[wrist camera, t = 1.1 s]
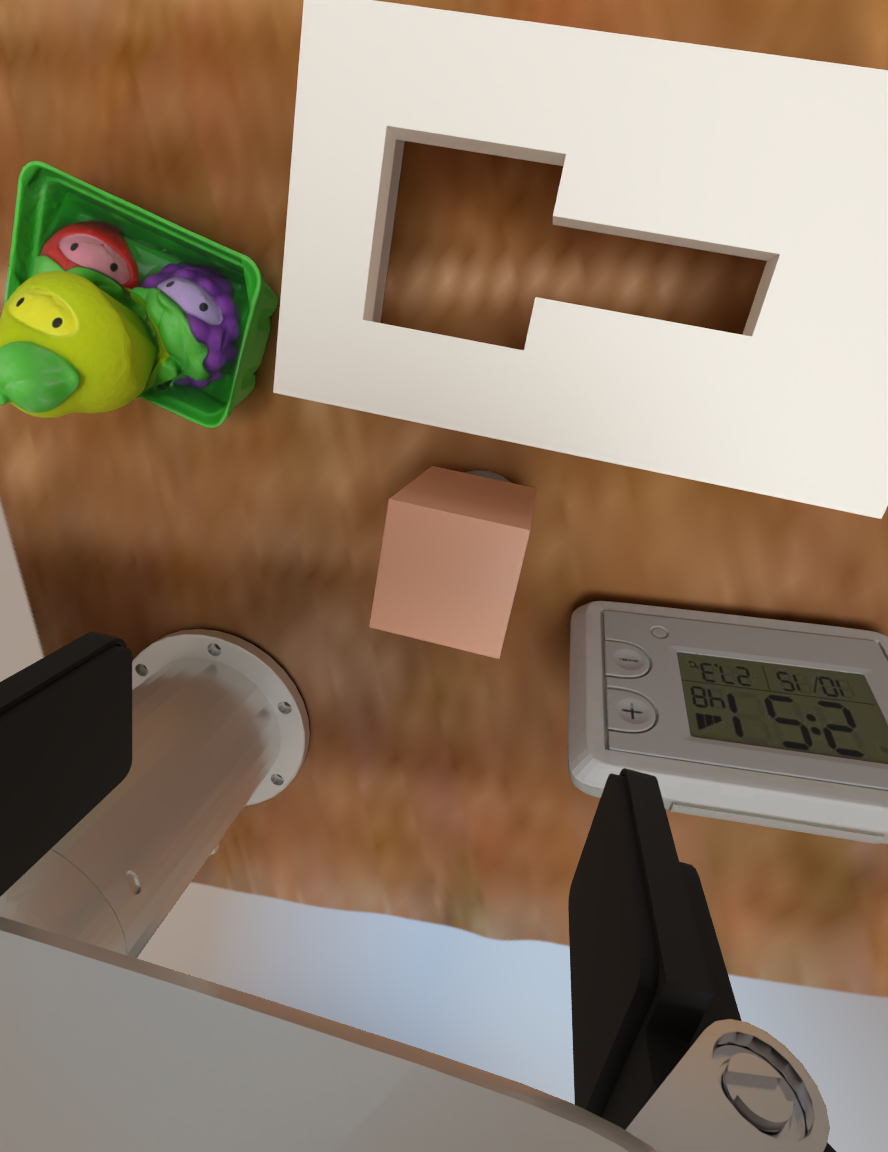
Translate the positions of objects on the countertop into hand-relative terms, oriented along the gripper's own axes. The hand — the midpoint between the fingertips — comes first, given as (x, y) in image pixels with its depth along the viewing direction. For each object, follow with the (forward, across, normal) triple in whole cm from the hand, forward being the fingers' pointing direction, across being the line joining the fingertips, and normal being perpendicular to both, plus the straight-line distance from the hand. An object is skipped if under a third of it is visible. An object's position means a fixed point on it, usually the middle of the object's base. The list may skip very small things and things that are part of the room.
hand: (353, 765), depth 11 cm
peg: (+22, 0, 0) cm, 22 cm away
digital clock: (+22, -14, +5) cm, 27 cm away
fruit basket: (+22, +17, -6) cm, 29 cm away
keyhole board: (+22, -3, -11) cm, 25 cm away
